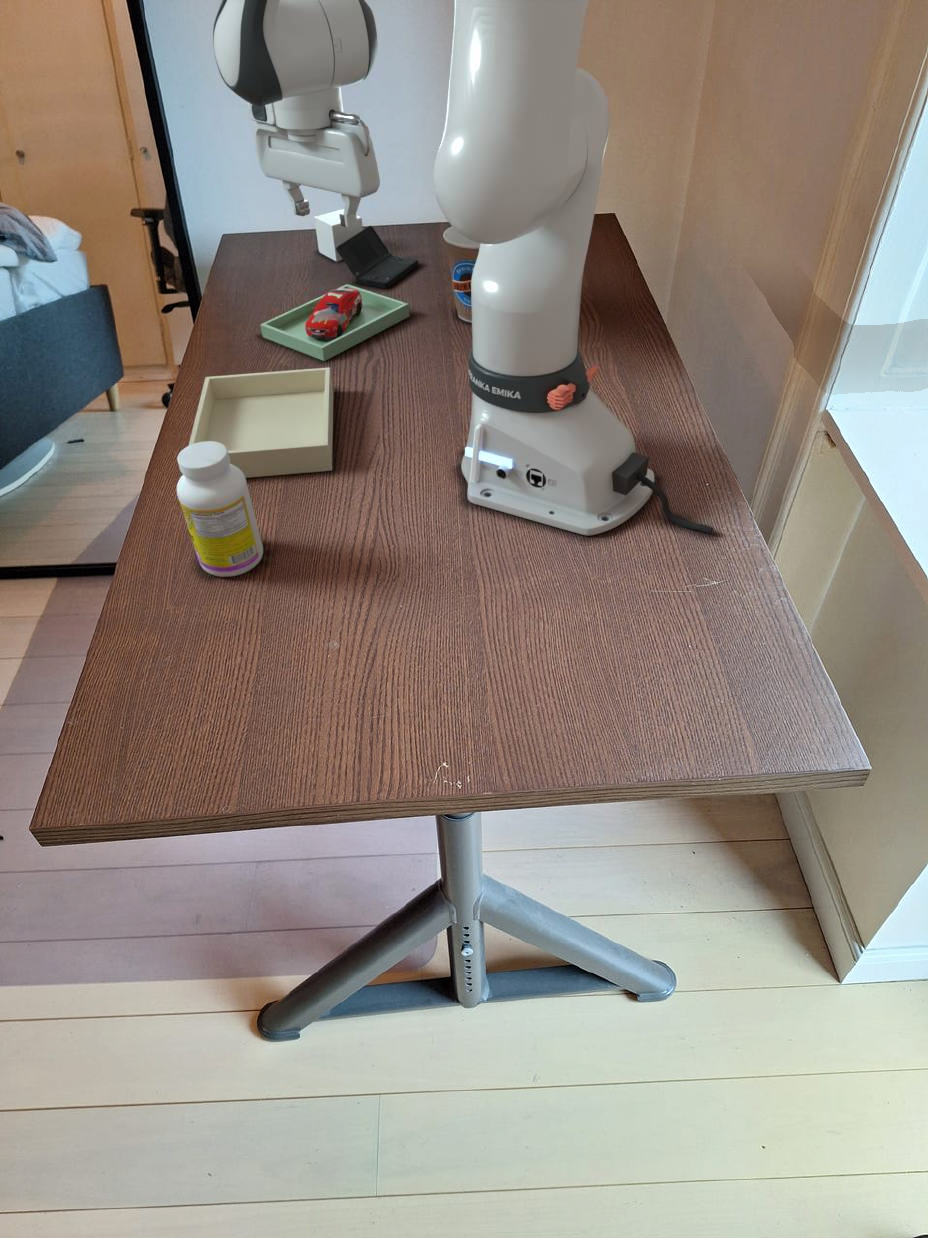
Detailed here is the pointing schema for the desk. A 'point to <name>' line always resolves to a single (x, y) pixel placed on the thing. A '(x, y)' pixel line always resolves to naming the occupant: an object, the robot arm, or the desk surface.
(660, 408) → the desk surface
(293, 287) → the desk surface
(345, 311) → the race car
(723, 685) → the desk surface
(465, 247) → the coffee cup
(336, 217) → the white cube
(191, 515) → the supplement bottle
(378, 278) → the handheld gaming console
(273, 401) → the cream shallow box
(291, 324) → the tray
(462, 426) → the desk surface
